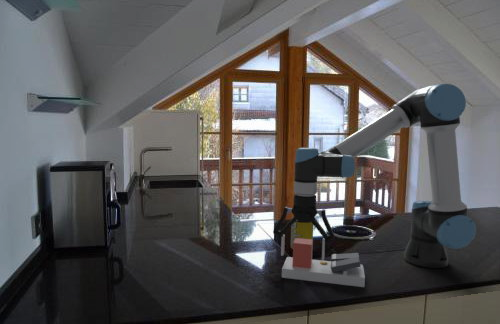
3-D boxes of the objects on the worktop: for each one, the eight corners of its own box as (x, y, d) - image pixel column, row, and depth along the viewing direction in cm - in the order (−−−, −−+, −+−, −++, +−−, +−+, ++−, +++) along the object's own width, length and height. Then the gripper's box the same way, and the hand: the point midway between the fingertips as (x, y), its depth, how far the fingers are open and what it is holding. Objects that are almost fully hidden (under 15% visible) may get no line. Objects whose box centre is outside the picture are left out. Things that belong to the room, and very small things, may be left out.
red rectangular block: (311, 262, 131) (312, 239, 130) (310, 268, 125) (311, 244, 124) (294, 260, 132) (295, 237, 131) (292, 266, 126) (293, 242, 125)
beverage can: (299, 242, 163) (300, 215, 162) (316, 248, 156) (318, 219, 155) (285, 247, 157) (286, 218, 155) (303, 252, 150) (304, 222, 149)
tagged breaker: (358, 257, 129) (358, 252, 129) (359, 262, 124) (359, 257, 124) (332, 259, 131) (331, 254, 131) (331, 263, 127) (331, 258, 126)
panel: (362, 273, 130) (363, 250, 129) (364, 287, 118) (365, 262, 118) (286, 264, 136) (287, 243, 135) (281, 277, 124) (282, 253, 124)
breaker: (359, 261, 123) (358, 256, 123) (360, 266, 119) (359, 261, 119) (332, 266, 126) (331, 261, 126) (332, 272, 121) (330, 266, 121)
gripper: (343, 194, 127) (340, 256, 129) (270, 190, 133) (268, 249, 135) (343, 198, 120) (340, 264, 122) (266, 193, 126) (264, 256, 127)
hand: (302, 256), depth 128 cm, fingers open, 13 cm apart
